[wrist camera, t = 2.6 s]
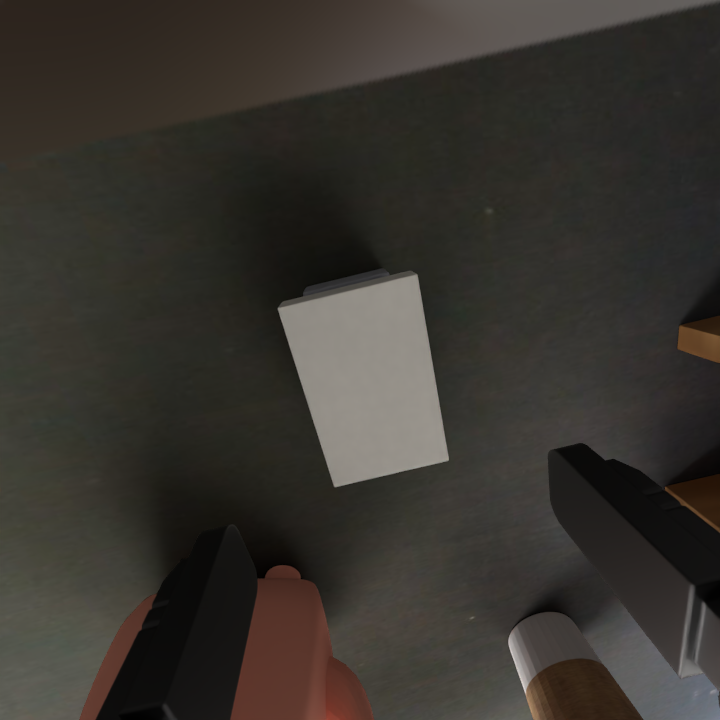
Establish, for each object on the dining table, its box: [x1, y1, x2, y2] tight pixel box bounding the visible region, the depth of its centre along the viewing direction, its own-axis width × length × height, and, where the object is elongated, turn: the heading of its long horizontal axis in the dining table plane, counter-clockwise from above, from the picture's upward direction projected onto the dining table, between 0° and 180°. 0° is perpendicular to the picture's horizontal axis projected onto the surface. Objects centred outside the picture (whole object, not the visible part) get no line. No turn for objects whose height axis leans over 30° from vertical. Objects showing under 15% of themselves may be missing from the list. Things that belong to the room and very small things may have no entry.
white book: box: [278, 271, 449, 487], centre depth 16 cm, size 9×6×1 cm, turn 13°
